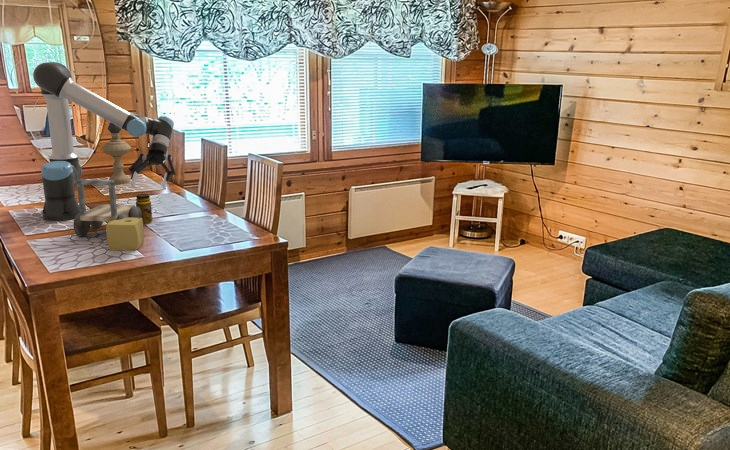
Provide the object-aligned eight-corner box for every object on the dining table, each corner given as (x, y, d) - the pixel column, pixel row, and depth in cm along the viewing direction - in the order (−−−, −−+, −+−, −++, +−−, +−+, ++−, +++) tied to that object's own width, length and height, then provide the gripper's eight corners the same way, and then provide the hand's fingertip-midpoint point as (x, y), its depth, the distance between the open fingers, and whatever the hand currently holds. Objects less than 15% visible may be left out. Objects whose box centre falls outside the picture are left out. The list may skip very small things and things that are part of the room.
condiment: (155, 223, 244) (152, 196, 241) (134, 225, 240) (131, 197, 237) (151, 219, 250) (149, 192, 247) (130, 221, 246) (128, 194, 243)
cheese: (117, 242, 219) (114, 216, 216) (146, 242, 220) (144, 217, 217) (107, 250, 209) (105, 224, 206) (138, 250, 210) (136, 224, 207)
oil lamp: (139, 182, 320) (133, 110, 309) (112, 186, 309) (105, 111, 298) (125, 178, 330) (119, 108, 319) (100, 182, 319) (92, 109, 308)
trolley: (75, 238, 221) (68, 180, 214) (100, 223, 241) (94, 170, 235) (121, 240, 221) (116, 182, 214) (142, 225, 241) (138, 171, 234)
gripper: (128, 140, 256) (116, 180, 245) (184, 142, 255) (174, 182, 245) (134, 150, 262) (122, 189, 252) (188, 152, 262) (179, 192, 251)
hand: (148, 186), depth 248 cm, fingers open, 13 cm apart
